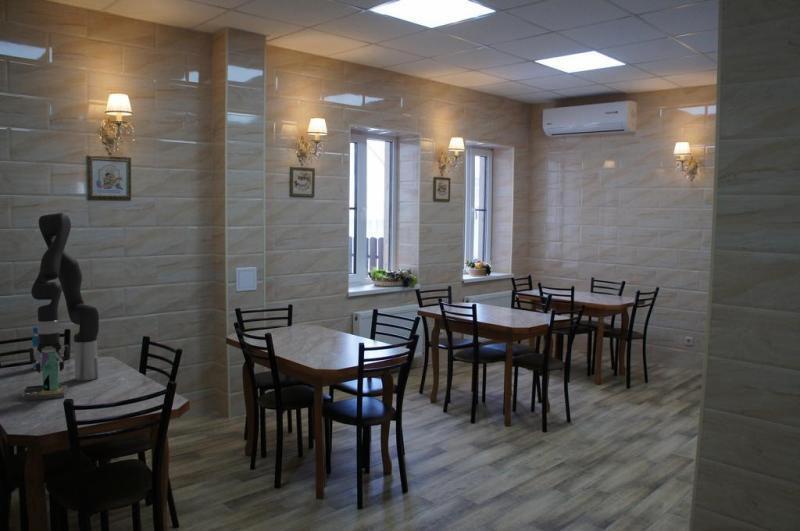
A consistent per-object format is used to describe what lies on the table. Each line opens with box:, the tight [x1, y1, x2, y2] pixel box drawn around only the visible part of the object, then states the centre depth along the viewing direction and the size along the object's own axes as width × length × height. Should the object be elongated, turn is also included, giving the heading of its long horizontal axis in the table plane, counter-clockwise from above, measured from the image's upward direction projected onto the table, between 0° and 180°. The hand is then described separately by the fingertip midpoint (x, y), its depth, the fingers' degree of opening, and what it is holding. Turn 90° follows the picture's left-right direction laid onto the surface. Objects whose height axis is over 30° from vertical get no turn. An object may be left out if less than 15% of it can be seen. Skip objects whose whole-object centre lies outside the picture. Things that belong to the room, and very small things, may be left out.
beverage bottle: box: [31, 325, 42, 371], centre depth 302 cm, size 8×8×20 cm
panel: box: [21, 383, 68, 402], centre depth 259 cm, size 15×12×3 cm
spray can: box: [41, 344, 60, 393], centre depth 257 cm, size 6×6×20 cm
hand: (50, 371), depth 257 cm, fingers open, 7 cm apart
